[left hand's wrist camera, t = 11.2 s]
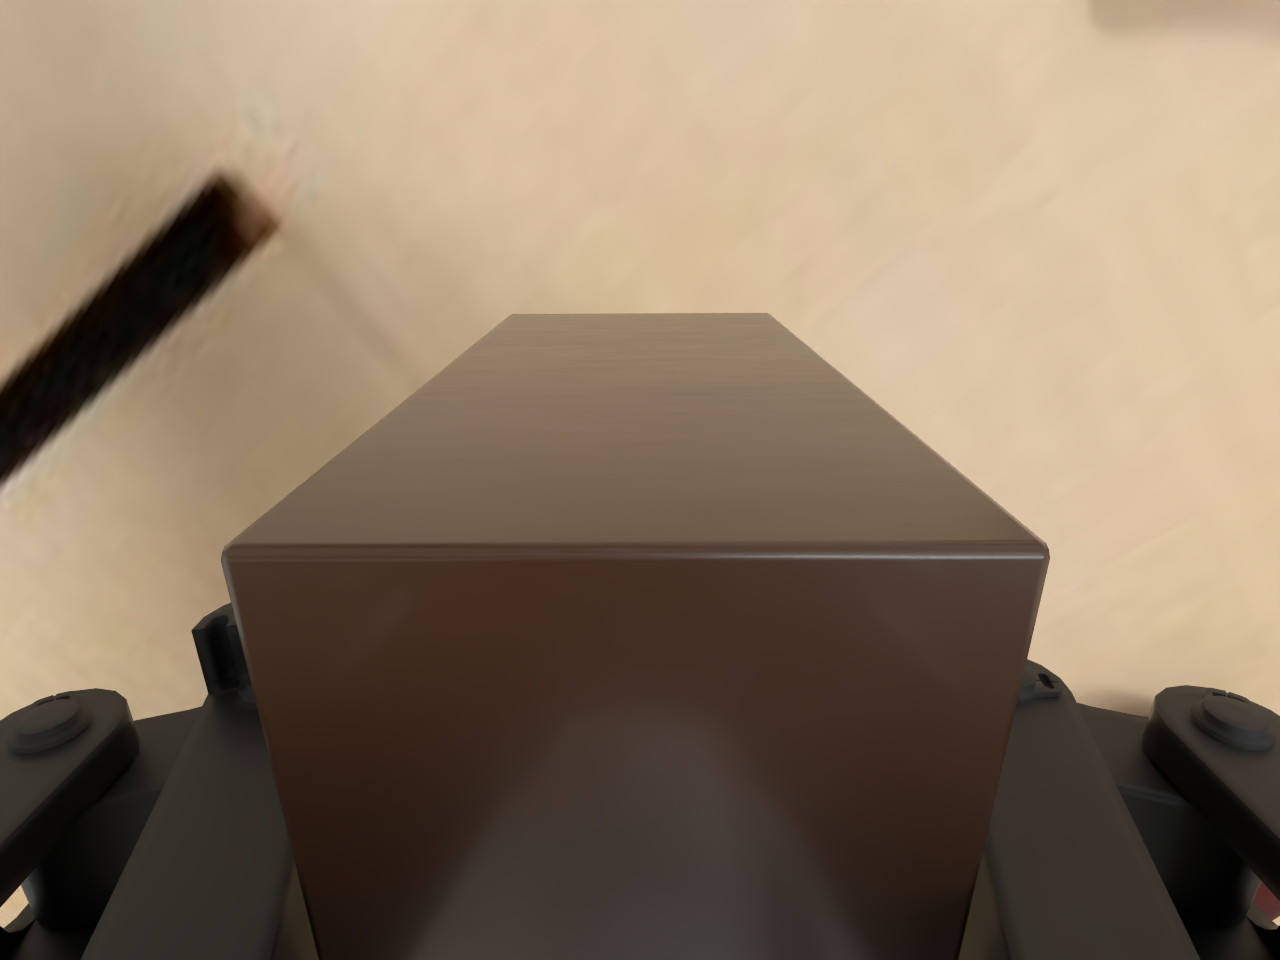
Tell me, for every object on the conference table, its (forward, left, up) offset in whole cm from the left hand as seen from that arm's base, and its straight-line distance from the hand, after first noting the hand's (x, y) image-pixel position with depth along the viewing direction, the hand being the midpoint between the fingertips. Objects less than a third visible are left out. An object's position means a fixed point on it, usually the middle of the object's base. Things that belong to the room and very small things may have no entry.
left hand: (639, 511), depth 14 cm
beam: (+10, 0, 0) cm, 10 cm away
